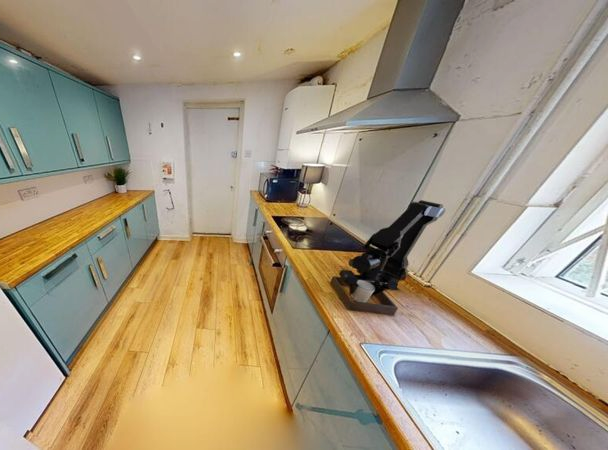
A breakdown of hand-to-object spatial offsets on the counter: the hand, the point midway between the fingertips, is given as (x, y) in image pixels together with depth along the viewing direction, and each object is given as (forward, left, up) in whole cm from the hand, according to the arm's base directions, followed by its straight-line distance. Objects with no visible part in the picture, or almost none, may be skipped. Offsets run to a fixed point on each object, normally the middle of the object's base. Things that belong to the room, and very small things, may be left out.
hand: (360, 294), depth 82 cm
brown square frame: (0, 0, -2) cm, 2 cm away
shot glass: (0, 0, -2) cm, 2 cm away
